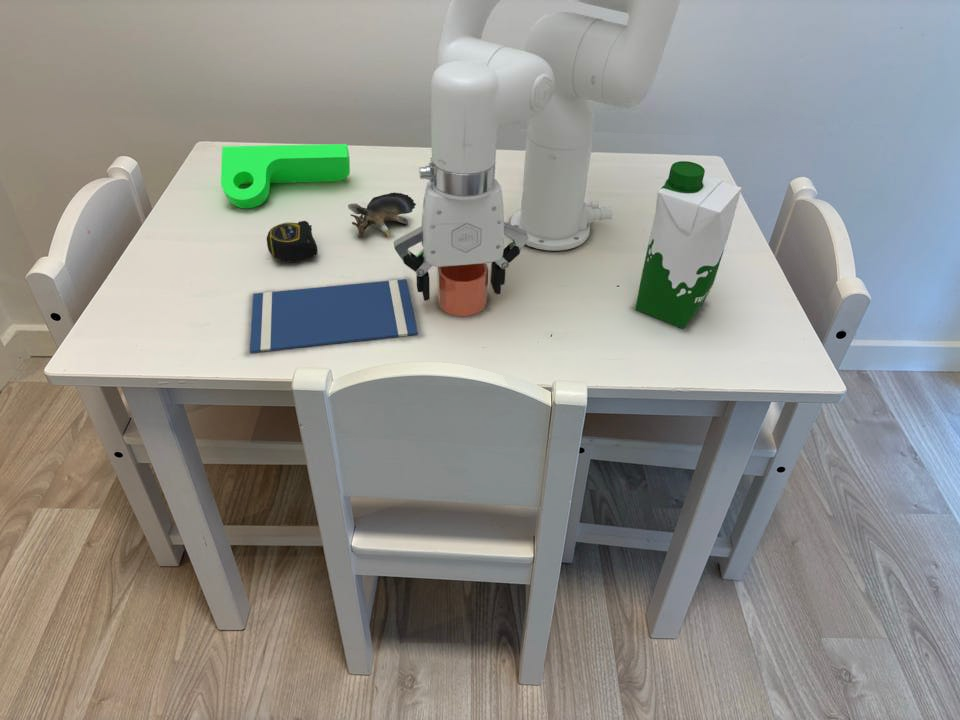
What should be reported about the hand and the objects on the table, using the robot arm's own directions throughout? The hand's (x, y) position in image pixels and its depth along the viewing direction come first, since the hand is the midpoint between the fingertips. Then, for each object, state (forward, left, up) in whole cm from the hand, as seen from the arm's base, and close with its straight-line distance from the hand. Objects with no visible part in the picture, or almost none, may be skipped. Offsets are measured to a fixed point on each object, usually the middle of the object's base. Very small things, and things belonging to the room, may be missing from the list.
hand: (460, 291), depth 93 cm
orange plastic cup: (0, 0, -2) cm, 2 cm away
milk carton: (-28, +6, -2) cm, 29 cm away
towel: (+17, 0, -2) cm, 17 cm away
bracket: (+23, -34, -2) cm, 41 cm away
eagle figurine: (+9, -20, -2) cm, 22 cm away
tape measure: (+22, -16, -2) cm, 27 cm away
